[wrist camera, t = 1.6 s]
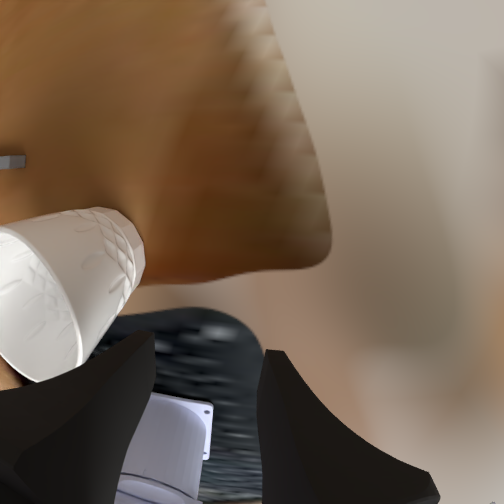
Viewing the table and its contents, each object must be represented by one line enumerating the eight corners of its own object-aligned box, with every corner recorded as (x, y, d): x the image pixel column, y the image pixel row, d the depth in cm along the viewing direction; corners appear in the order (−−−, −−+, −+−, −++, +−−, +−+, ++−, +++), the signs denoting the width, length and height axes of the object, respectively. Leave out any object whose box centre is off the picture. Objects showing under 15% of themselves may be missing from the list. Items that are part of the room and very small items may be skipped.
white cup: (57, 202, 18) (-44, 231, 8) (149, 194, 18) (57, 221, 8) (72, 300, 20) (-3, 368, 10) (160, 305, 20) (104, 401, 10)
